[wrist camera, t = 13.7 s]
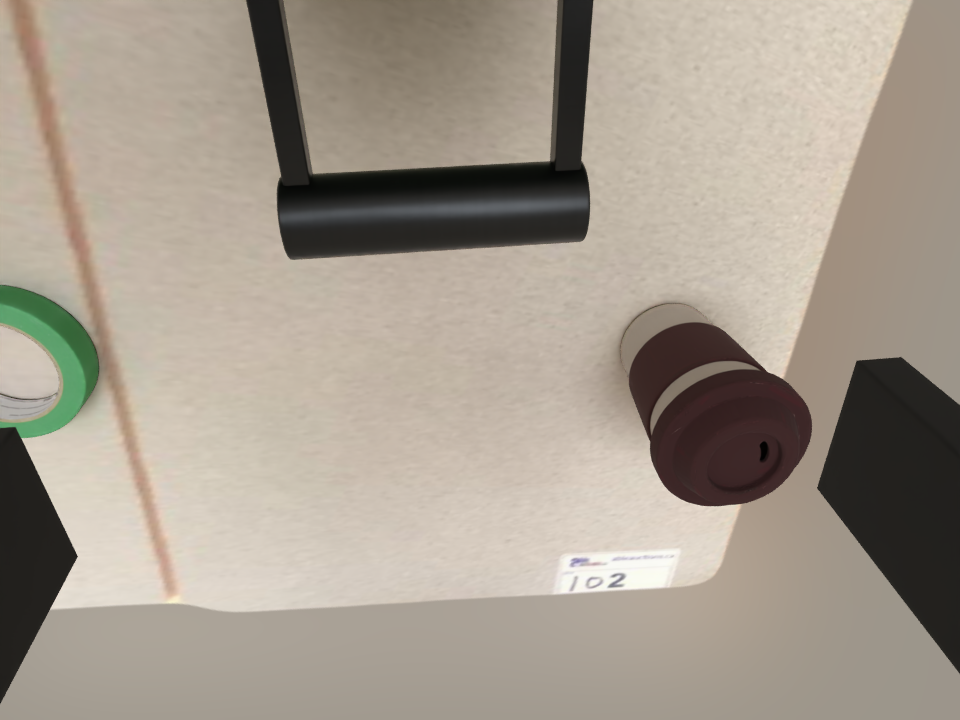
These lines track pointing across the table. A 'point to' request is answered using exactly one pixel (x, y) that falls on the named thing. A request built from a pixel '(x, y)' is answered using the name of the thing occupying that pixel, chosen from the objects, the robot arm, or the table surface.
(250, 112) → the table surface
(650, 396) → the coffee cup
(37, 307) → the tape roll
